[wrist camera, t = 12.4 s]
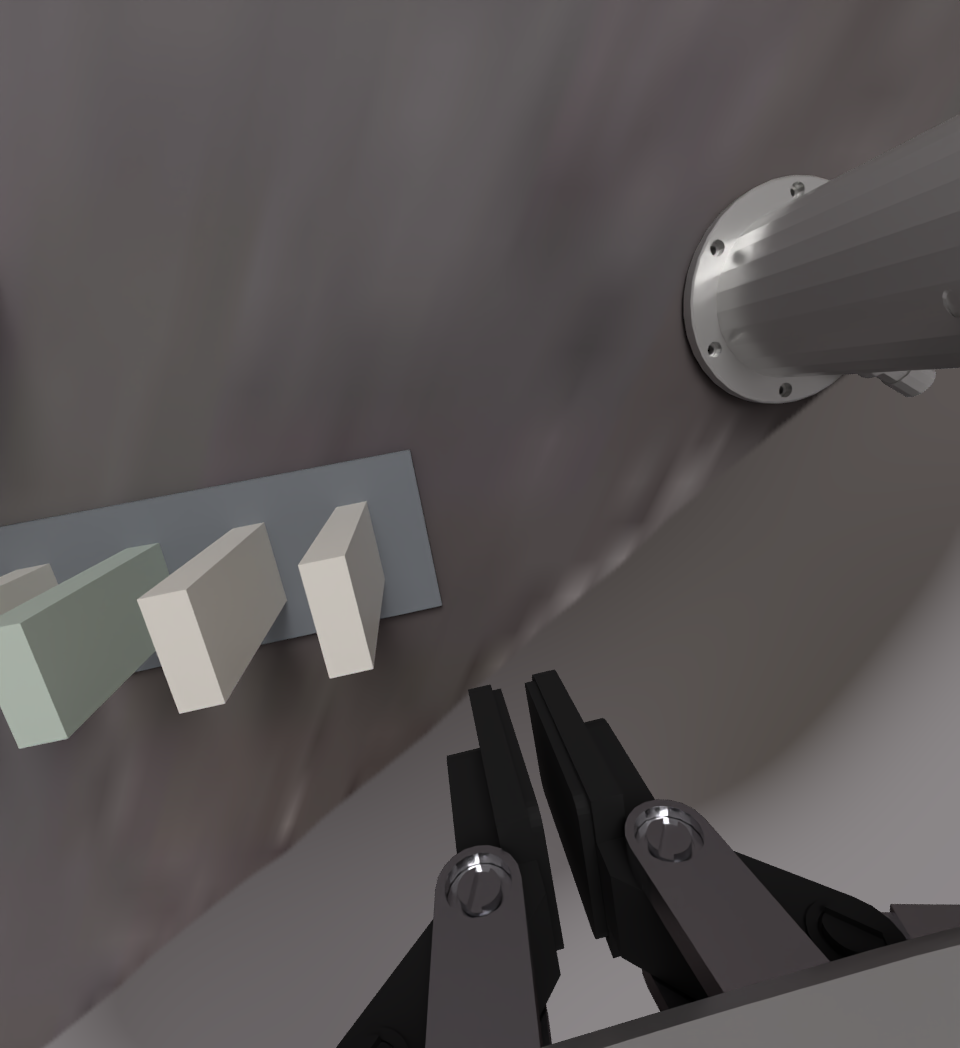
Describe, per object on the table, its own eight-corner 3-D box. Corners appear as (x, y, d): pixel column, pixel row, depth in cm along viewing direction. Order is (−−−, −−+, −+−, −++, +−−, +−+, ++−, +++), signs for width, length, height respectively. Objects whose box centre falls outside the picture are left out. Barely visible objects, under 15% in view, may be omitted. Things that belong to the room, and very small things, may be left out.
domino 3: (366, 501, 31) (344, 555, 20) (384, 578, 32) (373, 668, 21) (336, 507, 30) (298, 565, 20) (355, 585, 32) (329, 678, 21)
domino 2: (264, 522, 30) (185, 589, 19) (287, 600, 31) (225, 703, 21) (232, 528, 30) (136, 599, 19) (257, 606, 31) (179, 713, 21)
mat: (409, 449, 31) (409, 450, 30) (441, 602, 33) (442, 605, 33) (-172, 558, 28) (-185, 562, 27) (-89, 716, 31) (-98, 722, 30)
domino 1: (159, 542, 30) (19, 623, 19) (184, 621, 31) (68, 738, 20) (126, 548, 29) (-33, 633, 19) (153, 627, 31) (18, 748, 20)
